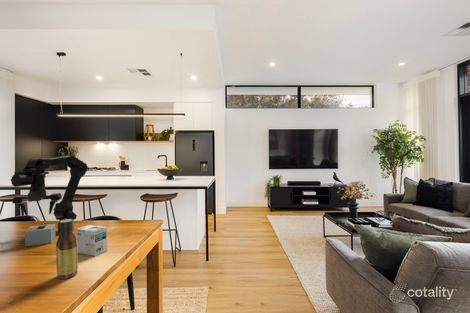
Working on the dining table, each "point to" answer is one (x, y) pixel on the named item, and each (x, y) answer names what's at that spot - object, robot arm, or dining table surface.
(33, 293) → the dining table surface
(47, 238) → the coin box
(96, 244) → the light bulb box
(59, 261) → the sauce bottle
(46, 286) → the dining table surface
